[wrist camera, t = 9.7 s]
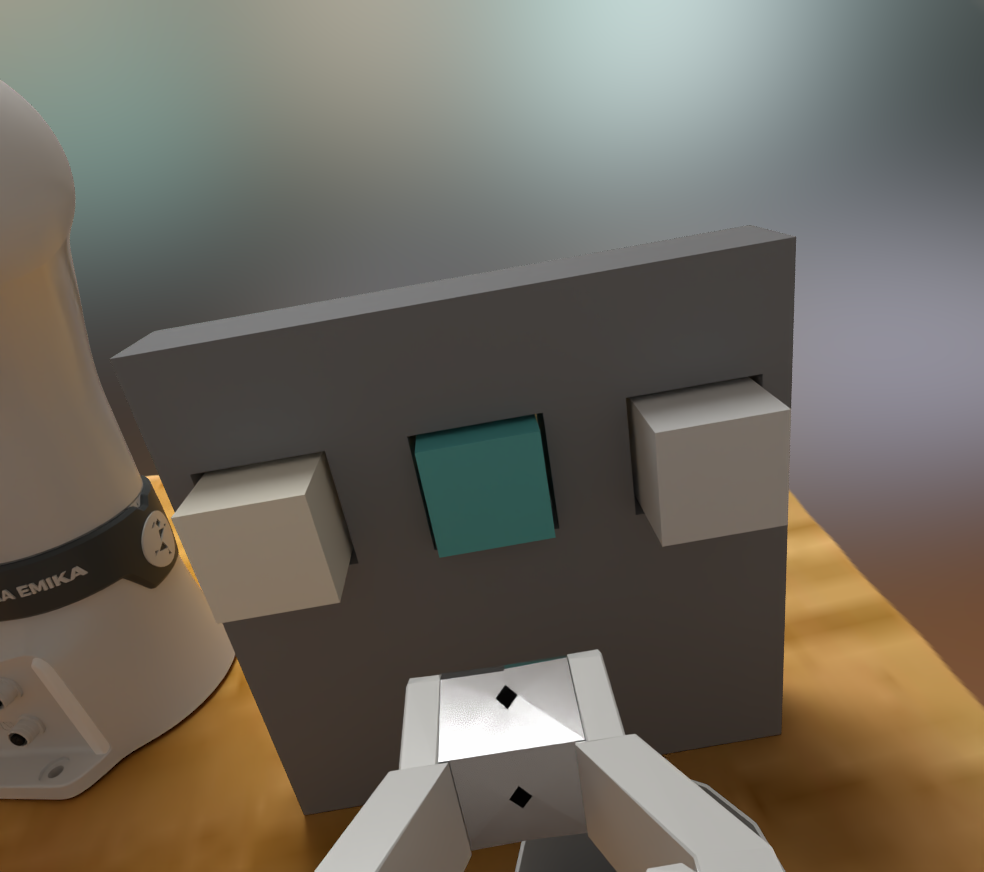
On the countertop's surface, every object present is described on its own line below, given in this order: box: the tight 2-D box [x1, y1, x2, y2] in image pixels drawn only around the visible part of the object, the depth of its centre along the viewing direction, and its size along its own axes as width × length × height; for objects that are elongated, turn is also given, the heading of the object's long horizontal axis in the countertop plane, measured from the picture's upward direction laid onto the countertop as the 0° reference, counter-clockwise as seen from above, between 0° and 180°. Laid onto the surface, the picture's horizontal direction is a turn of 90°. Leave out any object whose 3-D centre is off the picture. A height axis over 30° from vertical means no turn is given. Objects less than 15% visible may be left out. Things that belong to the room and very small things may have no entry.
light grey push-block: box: [626, 377, 791, 547], centre depth 27 cm, size 5×6×5 cm
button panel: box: [110, 225, 796, 815], centre depth 31 cm, size 26×4×26 cm, turn 93°
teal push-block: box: [415, 414, 556, 558], centre depth 29 cm, size 5×6×5 cm
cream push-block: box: [171, 451, 353, 624], centre depth 28 cm, size 5×6×5 cm
